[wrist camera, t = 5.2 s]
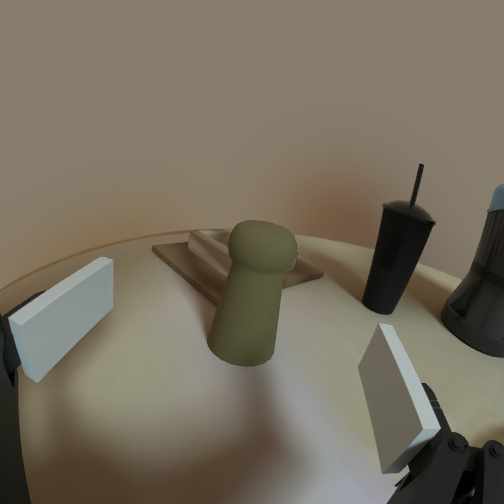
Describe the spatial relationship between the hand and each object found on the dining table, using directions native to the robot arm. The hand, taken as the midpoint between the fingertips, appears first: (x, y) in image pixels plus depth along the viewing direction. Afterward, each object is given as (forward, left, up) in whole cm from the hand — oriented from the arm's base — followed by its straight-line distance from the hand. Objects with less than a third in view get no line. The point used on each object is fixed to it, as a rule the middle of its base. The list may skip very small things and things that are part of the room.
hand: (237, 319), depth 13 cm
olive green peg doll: (-8, -6, -9) cm, 13 cm away
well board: (-20, -20, -9) cm, 30 cm away
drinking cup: (-30, -2, -9) cm, 31 cm away
